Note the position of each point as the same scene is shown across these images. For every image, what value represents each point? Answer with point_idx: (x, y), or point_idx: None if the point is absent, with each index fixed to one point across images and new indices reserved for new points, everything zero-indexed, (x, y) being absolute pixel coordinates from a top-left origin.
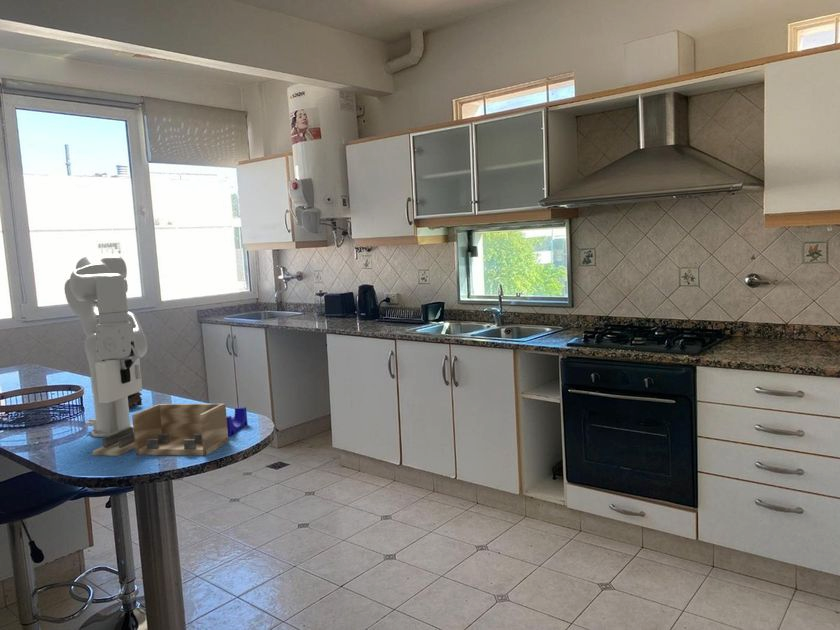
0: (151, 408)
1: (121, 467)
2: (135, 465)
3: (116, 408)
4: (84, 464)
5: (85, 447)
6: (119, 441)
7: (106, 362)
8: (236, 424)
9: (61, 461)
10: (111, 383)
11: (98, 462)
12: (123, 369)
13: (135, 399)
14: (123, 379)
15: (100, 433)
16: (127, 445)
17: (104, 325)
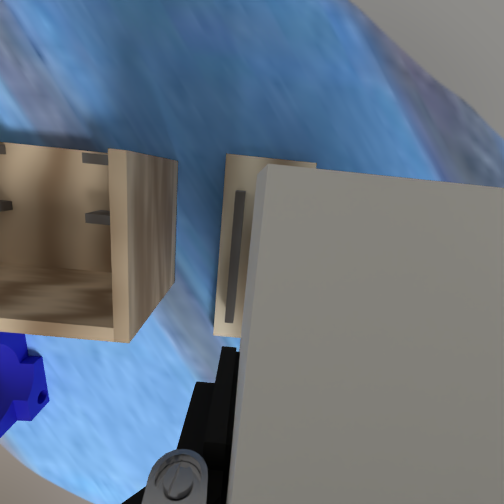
0: (112, 273)
1: (146, 30)
2: (112, 48)
3: None
4: (290, 72)
5: None
6: (241, 191)
7: (269, 284)
8: (5, 376)
9: (385, 110)
10: (251, 240)
11: (255, 89)
12: (190, 450)
13: None
14: (218, 367)
15: None
16: (231, 212)
17: None
